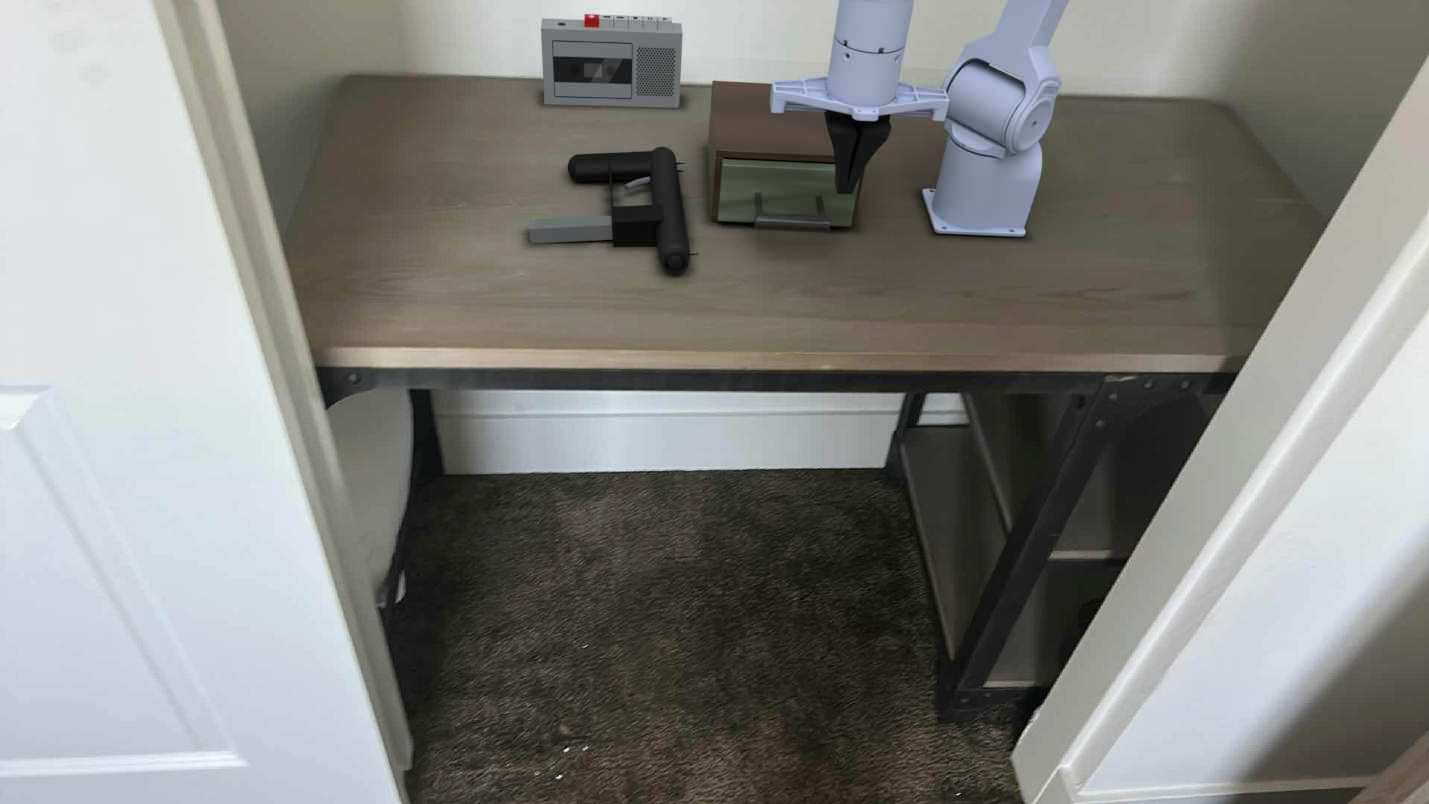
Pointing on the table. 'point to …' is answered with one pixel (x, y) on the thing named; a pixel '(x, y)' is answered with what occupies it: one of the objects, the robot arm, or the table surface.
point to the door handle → (628, 207)
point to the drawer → (783, 195)
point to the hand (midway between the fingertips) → (843, 188)
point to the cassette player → (612, 61)
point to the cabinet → (761, 133)
